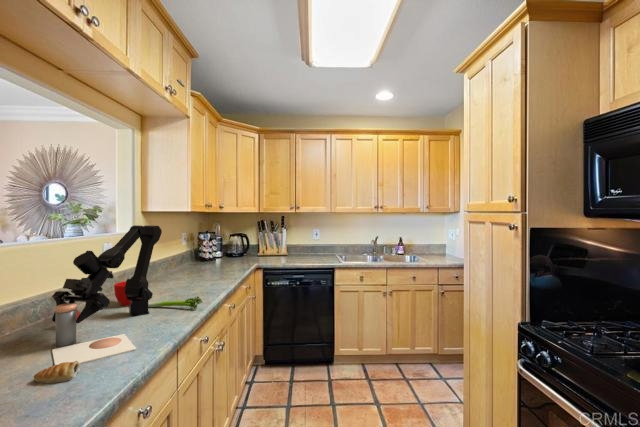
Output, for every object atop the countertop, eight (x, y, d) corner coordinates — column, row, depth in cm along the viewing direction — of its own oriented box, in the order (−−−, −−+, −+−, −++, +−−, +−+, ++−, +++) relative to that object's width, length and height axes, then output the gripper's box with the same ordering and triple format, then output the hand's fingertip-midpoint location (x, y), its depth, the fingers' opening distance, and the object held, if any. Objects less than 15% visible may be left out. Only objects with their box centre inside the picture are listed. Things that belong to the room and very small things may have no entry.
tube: (75, 339, 111) (76, 302, 111) (77, 344, 106) (78, 305, 106) (54, 344, 107) (54, 305, 107) (55, 349, 102) (55, 309, 102)
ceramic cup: (134, 297, 166) (134, 278, 166) (150, 303, 156) (150, 282, 156) (105, 303, 155) (105, 282, 155) (121, 309, 145) (121, 287, 145)
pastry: (28, 388, 80) (28, 372, 80) (40, 375, 87) (40, 361, 87) (73, 381, 84) (73, 366, 84) (82, 369, 90) (82, 356, 90)
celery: (145, 309, 153) (205, 306, 151) (135, 316, 146) (199, 312, 144) (143, 297, 152) (204, 293, 150) (133, 303, 145) (197, 299, 143)
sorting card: (124, 334, 115) (124, 333, 115) (136, 349, 103) (136, 348, 103) (52, 350, 102) (52, 349, 102) (55, 370, 89) (55, 368, 89)
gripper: (57, 268, 113) (23, 308, 102) (103, 269, 110) (73, 311, 99) (77, 285, 121) (47, 324, 110) (121, 287, 118) (94, 328, 107)
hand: (65, 321), depth 106 cm, fingers open, 9 cm apart
